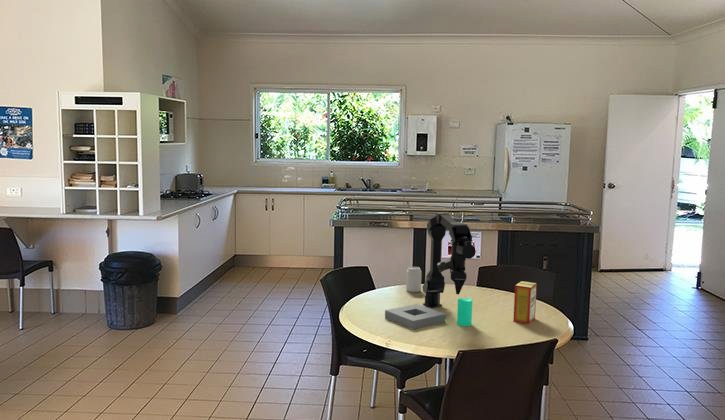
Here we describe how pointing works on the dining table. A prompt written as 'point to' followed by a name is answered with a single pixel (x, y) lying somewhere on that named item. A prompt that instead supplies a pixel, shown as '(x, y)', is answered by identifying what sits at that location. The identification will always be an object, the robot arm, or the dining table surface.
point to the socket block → (415, 316)
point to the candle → (464, 312)
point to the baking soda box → (525, 302)
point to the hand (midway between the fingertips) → (457, 291)
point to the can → (413, 279)
